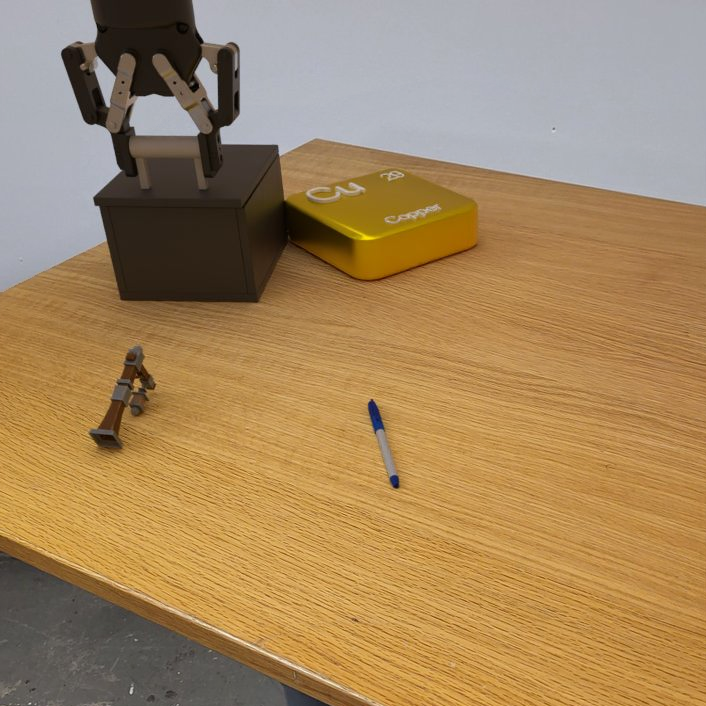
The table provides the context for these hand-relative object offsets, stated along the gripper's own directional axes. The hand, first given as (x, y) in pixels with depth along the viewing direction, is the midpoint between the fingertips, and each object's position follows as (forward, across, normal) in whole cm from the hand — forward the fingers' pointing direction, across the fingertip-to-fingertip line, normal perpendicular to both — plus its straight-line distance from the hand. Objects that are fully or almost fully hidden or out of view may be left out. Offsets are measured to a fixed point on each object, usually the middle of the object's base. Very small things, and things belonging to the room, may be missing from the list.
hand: (172, 174), depth 79 cm
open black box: (+11, 0, -6) cm, 12 cm away
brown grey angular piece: (+11, -1, +21) cm, 24 cm away
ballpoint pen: (+11, -20, +23) cm, 33 cm away
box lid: (+2, 0, -5) cm, 5 cm away
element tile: (+11, -16, -13) cm, 23 cm away
